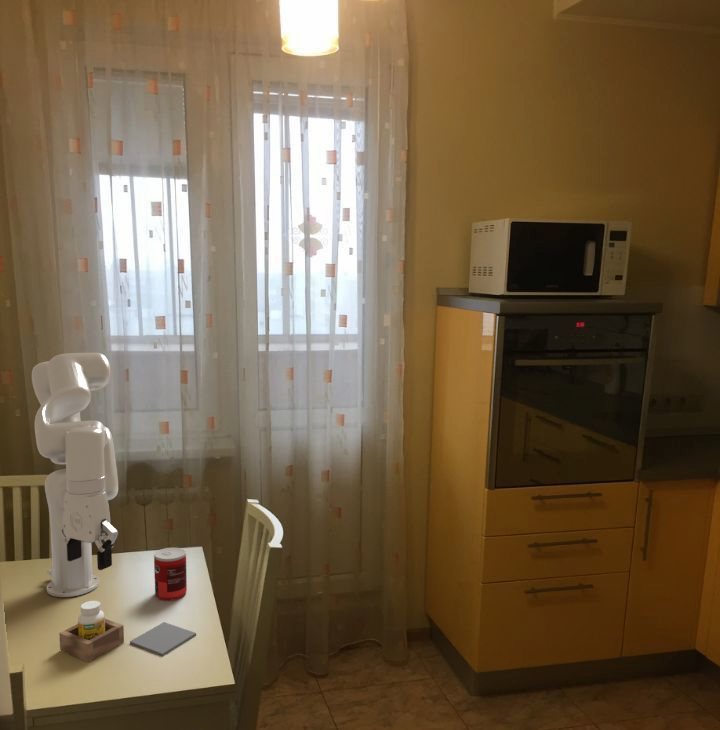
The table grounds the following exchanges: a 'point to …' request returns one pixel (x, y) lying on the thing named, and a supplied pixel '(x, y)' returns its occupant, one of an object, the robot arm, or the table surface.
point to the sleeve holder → (91, 641)
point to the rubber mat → (163, 638)
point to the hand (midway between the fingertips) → (89, 563)
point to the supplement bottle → (91, 620)
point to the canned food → (170, 573)
